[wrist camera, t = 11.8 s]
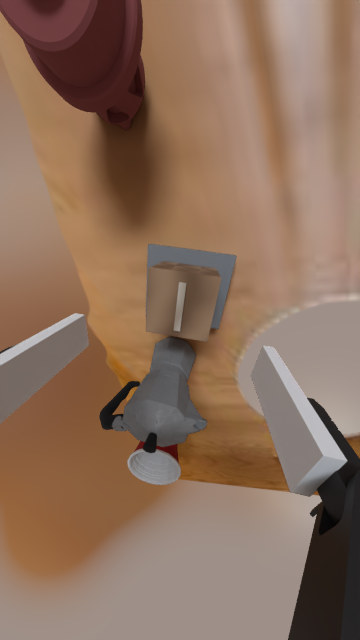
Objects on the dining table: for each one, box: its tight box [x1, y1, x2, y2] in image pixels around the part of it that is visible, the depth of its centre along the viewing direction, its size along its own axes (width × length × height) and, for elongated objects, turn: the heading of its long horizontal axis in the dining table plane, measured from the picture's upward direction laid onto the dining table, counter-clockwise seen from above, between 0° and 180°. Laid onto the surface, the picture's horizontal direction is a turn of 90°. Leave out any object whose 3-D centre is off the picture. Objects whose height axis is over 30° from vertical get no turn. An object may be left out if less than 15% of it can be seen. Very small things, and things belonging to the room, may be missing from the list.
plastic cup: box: [128, 441, 181, 485], centre depth 38 cm, size 11×11×12 cm
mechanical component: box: [0, 0, 145, 130], centre depth 14 cm, size 12×10×10 cm
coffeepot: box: [100, 337, 207, 453], centre depth 27 cm, size 15×9×18 cm, turn 99°
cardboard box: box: [146, 261, 221, 342], centre depth 23 cm, size 8×8×8 cm
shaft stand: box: [146, 244, 236, 329], centre depth 25 cm, size 13×12×8 cm
